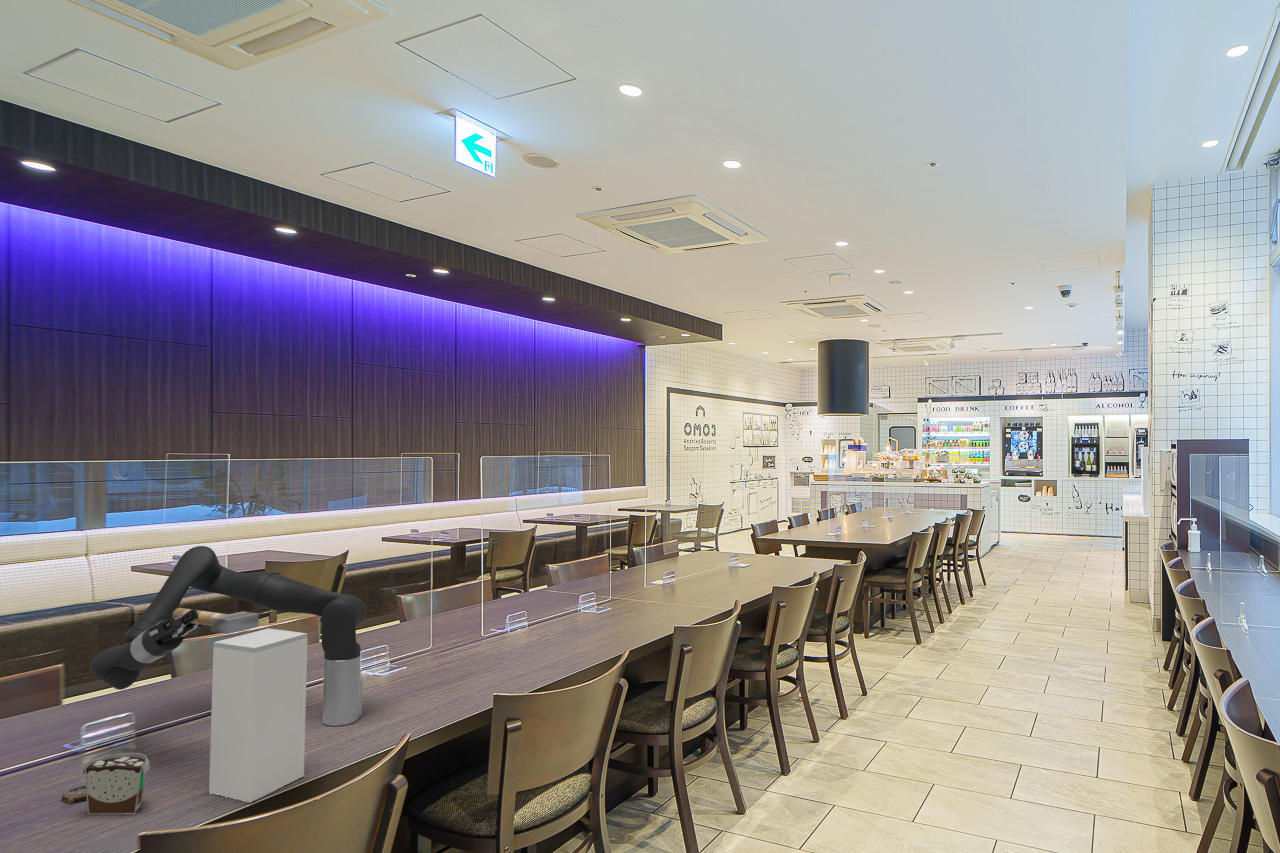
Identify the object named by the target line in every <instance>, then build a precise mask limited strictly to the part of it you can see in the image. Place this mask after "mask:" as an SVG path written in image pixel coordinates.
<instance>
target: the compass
mask: <svg viewBox="0 0 1280 853" xmlns="http://www.w3.org/2000/svg"><path fill="white" fill-rule="evenodd" d="M61 801H62V804H63V805H67V804H71V803H72V804H73V803H80V802H84V801H87V796H86V784H85V785H80V786H79V785H78V786H76V787H72V788H71V789H69V790H67V791H66V792H64V794H63V795H62V796H61Z"/></svg>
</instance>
